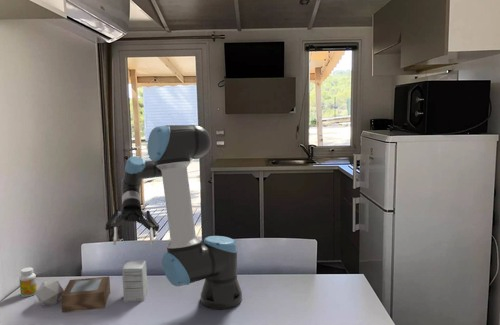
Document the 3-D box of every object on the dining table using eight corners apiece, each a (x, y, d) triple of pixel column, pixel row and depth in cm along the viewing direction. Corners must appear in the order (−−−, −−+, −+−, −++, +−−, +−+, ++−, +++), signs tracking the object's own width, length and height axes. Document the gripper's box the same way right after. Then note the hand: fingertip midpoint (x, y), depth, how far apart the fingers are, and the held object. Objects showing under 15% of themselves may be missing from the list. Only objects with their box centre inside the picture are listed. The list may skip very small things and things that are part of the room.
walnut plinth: (110, 291, 149) (109, 276, 148) (104, 308, 137) (103, 291, 136) (71, 294, 146) (70, 279, 146) (62, 312, 134) (60, 295, 133)
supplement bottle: (17, 296, 146) (15, 271, 144) (28, 289, 151) (26, 266, 150) (29, 297, 144) (27, 273, 143) (40, 291, 150) (38, 267, 148)
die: (45, 312, 135) (62, 287, 137) (25, 299, 136) (42, 274, 138) (56, 309, 143) (72, 286, 145) (37, 296, 144) (53, 273, 146)
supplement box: (128, 292, 148) (126, 260, 147) (147, 291, 149) (146, 260, 147) (123, 301, 141) (121, 268, 139) (143, 301, 142) (142, 268, 140)
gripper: (159, 211, 169) (164, 249, 153) (98, 209, 159) (97, 249, 143) (163, 199, 165) (168, 236, 150) (100, 195, 155) (99, 235, 139)
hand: (133, 242), depth 146 cm, fingers open, 13 cm apart
